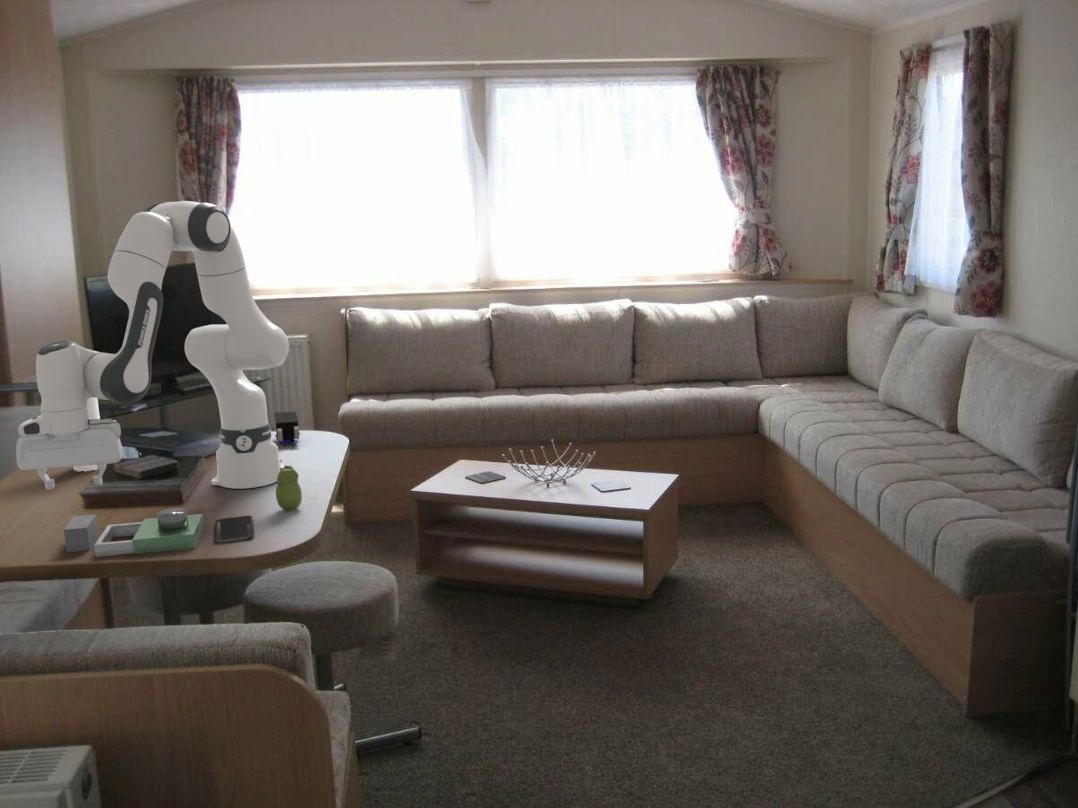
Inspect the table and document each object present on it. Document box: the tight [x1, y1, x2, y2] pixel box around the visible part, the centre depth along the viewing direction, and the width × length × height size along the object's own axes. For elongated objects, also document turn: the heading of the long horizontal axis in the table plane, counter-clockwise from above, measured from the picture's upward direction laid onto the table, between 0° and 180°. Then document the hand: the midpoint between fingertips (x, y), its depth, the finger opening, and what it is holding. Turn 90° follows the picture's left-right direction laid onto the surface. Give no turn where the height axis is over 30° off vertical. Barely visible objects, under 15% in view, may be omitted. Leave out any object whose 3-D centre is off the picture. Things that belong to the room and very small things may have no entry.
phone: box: [214, 515, 255, 545], centre depth 238 cm, size 8×1×15 cm
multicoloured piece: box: [93, 507, 205, 558], centre depth 233 cm, size 14×20×6 cm
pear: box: [275, 464, 303, 511], centre depth 250 cm, size 6×5×10 cm
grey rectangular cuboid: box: [63, 514, 100, 553], centre depth 234 cm, size 9×4×5 cm, turn 9°
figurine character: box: [273, 411, 301, 447], centre depth 313 cm, size 7×8×15 cm
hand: (74, 486), depth 231 cm, fingers open, 8 cm apart
